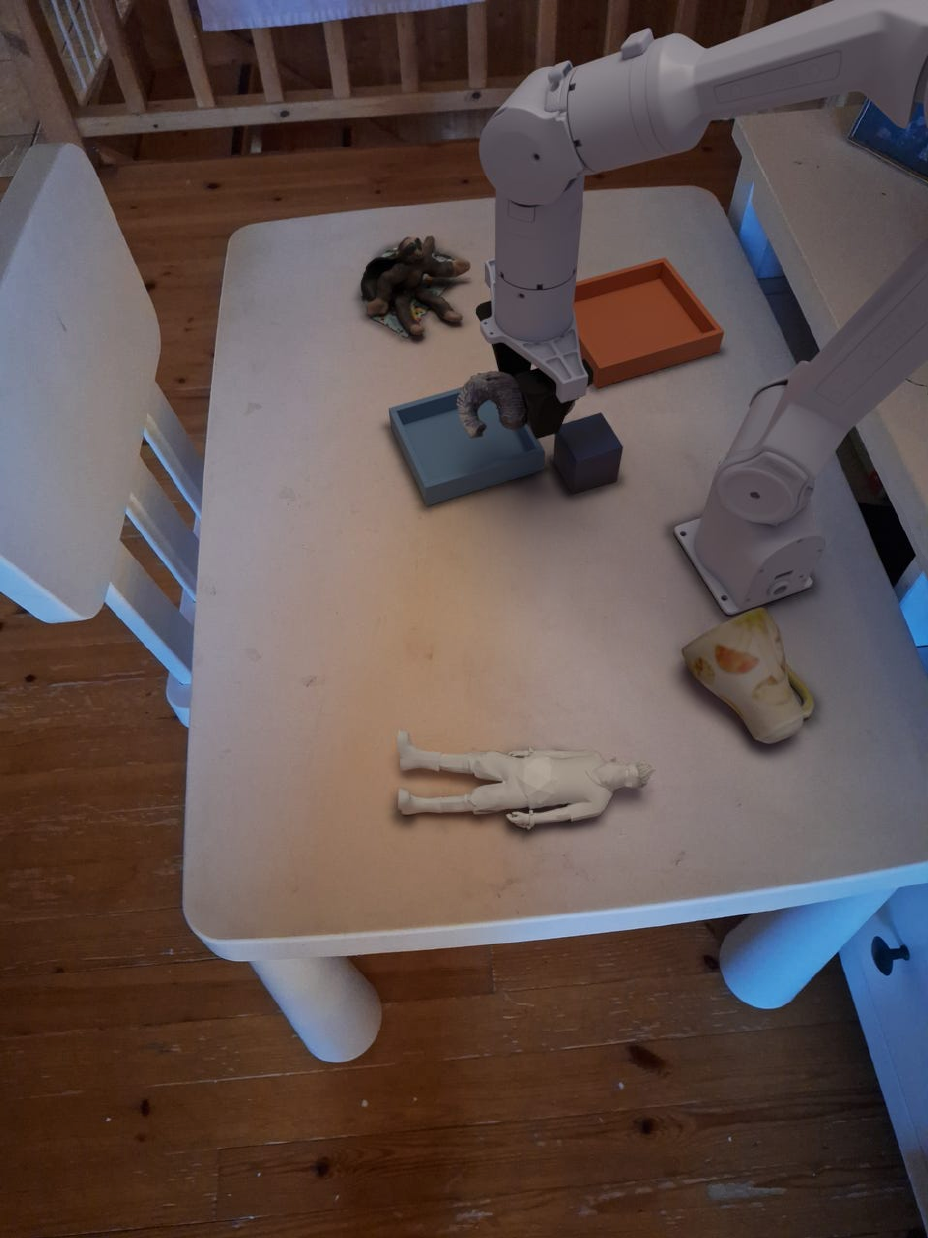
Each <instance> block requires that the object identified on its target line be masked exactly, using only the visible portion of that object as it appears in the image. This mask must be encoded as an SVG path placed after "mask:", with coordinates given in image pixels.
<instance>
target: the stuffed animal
mask: <svg viewBox="0 0 928 1238" xmlns="http://www.w3.org/2000/svg"><path fill="white" fill-rule="evenodd" d="M435 243H436V240H435V237H434V235H426V237H425V238H424V241H423V242H422V241H421V239H420V238H419V237H418V236H415V237H412V236H406V237H405V238H404V239H402V241H400V242H399V244H398V246H397V247H392V248H390V249H387V250H386V251H385V252H384V253H382V255H381V256H377V257H375V258H373V259H372V260H371V261H369V262H368V264H367V265H366V266H365V271H364V272H363V274H362V278H361V280H360V291H361V294H362V296H361V299H362V301H363V302H364V305H365V310H366V314H367V316H368V317H369V318H370V319H372V320H373V321H377V322H378V323H381V324H383V325H385V326H388V327H389V328H390V329H391V330H393V331H395V332H397V334H400V332H402V334H401V336H403V337H404V338H409V335H415V336H420V335H422V334H423V333H424V332H425V331H426V329H425V327H424V326H423V325H420V323H419V322H420V321H421V320H422V315H426V314H427V312H428V311H429V310H430V309H431V308H432V309H434V310H435V312H436V313H437V314H438V316H439V318H441V319H443V320H445V321H447V322H452V323H457V322H460V321H462V320H463V319H464V316H463V314H461V313H457V312H456V311H455V310H454V308H452V306H451V305H450V304H449V302H448V301H447V300H446V299H445V298H444V297H443V296H441V295H442V293H444V290H445V289H446V288H447V287H448V285H449V284H450V283H451V281H452V280H453V278H458V277H460V276H461V275H464V274H465V273H467V272H468V271H470V270H471V263H470V261H469V260H468V259H466V258H457V259H454V258H452V256H450V255H448V254H445V253H440V252H439V251H438V250H436V249H435Z"/></svg>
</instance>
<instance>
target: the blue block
mask: <svg viewBox="0 0 928 1238" xmlns="http://www.w3.org/2000/svg"><path fill="white" fill-rule="evenodd" d="M623 450H624V445H623V444H622V443H621V441H620V439H619V437H618V436H617V435H616V433H615V431H614V429H612V426H611V425H610V424H609V422H608V421H607V419H606V417H605V416H604V414H603V412H601V411H599V412H597V413H594V414H590V415H587V416H585V417H581V418H578V419H575V420H571V421H568V422H563V423H562V425H561V428H560V430H559V432H558V433H556V434H554V441H553V454H552V461H553V463H554V465H555V467H556V468H557V470H558V472H559V473H560V475H561V477H562V478H563V481H564V482H565V484H566V486H567V487H568V489H569V491H570V493H571V494H572V495H575V494H578V493H582V492H585V491H588V490H591V489H594V488H598V487H600V486H604V485H606V484H610V483H614V482H615V481H618V478H619V472H620V467H621V461H622V457H623Z"/></svg>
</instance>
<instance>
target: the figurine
mask: <svg viewBox="0 0 928 1238" xmlns="http://www.w3.org/2000/svg"><path fill="white" fill-rule="evenodd" d="M396 738H397V739H396V745H397V753H398V755H399V756H400V759H399V764H400V771H410V770H414V769H418V768H419V769H420V768H421V769H427V770H433V771H435V772H440V770H444V771H448V772H452V773H459V774H469V775H471V774H474V776H475V777H476V778H478V779H481V780H489V781H497V782H499V783H491V784H483V785H481V786H477V787H475V788H474V789H473V790H472V791H471V792H466V793H464V794H462V795H460V794H458V795H449V796H442V795H439V796H435V797H423V796H422V797H421V796H416V795H413V794H411V793H410V791H409V790H406V789H403V788H398V796H397V797H398V798H397V807H398V810H400V811H401V814H402V815H407V816H408V815H414V814H419V813H437V814H443V813H464V812H472V813H473V814H474V815H483V814H491V813H497V812H501V811H503V810H508V809H509V810H514V809H515V810H516V809H524V808H528V809H529V811H528V813H524V812H521V811H512V812H511V813H508V814H505V815H506V818H507V819H508V820H509V821H510V822H511V823H514V824H515V825H516V826H517V827H521V828H523V829H524V828H525V829H526V830H531V829H532V828H533V827H534V826H535V824H544V823H545V824H546V823H560V822H561V823H562V822H565V821H569V820H570V821H571V822H575V821H579V820H585V819H589V818H594V817H598V816H600V815H601V814H602V813H603V812H604V811H605V809H606V808H607V806H608V805H609V801H610V799H611V798H612V797H613V794H614V793H613V792H614V791H616V790H617V789H620V788H624V787H626V788H637V789H638V790H639V789H643V788H645V787H646V786H647V784H648V782H649V780H650V779H651V777H652V775H653V774H654V772H655V771H656V769H657V768H655V767H654V766H653V765H652V764H649V763H648V762H647V761H645V759H640V760H638V761H637V763H627V764H626V763H625V762H615V761H606V759H605V758H604V756H603V755H602V754H601V752H598V751H596V750H588V749H585V750H584V749H582V750H566V751H565V750H556V749H533V747H528V748H527V749H523V750H513V751H509V752H508V753H507V754H505V753H503V752H500V751H496V750H495V751H488V750H473V752H467V753H442V750H435V751H432V750H423V749H420V748H418V747H417V746H416V745H414V744H413V742H412V741H411V735H410V733H409V732H408V731H407V730H403V729H398V732H397V737H396ZM565 804H567V805H566V806H564V807H558V808H555V809H551V810H548V811H544V812H534V810H533V809H541V808H543V807H555V806H557V805H565Z"/></svg>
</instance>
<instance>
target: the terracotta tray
mask: <svg viewBox="0 0 928 1238" xmlns="http://www.w3.org/2000/svg"><path fill="white" fill-rule="evenodd" d="M574 311H575V315H576V323H577V331H578V339H579V346H580V354H581V360H582V359H586V361H587V362H588V364H589V365H590V367H591V368H592V370H593V372H594V376H593V382H592V384H594V386H595V387H596V388H597V389H599V388H602V387H603V388H604V387H606V386H610V385H612V384H617V383H620V382H623V381H626V380H630V379H632V378H636V377H639V376H643V375H646V374H649V373H653V372H656V371H659V370H663V369H666V368H670V367H673V366H676V365H679V364H682V363H686V362H690V361H693V360H697V359H699V358H703V357H706V356H710V355H713V354H716V353H719V352H720V350H721V346H722V342H723V338H724V335H725V330H724V329H723V328H722V327H721V326H720V324H719V323H718V322H717V320H716V319H715V318H714V316H713V315H712V314H711V313H710V311H708V309H707V308H706V307H705V305H704V304H703V303H702V301H701V300H700V299H699V298H698V297H697V295H696V294H695V292H693V290H692V289H691V288H690V287H689V285H688V284H687V283H686V282H685V280H684V279H683V278H682V277H681V275H680V274H679V272H678V271H677V270H676V268H675V267H674V266H673V265H672V264H671V262H670V261H669V260H668V258H667V257H665V256H664V257H661V258H658V259H654V260H651V261H647V262H644V263H640V264H635V265H632V266H627V267H625V268H621V269H618V270H615V271H610V272H607V273H603V274H600V275H597V276H593V277H589V278H585V279H581V280H578V281H576V287H575V298H574Z"/></svg>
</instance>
